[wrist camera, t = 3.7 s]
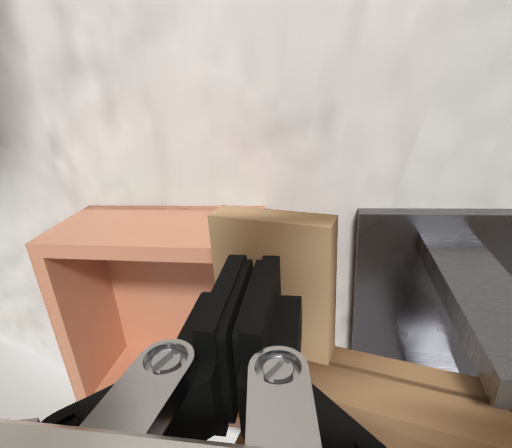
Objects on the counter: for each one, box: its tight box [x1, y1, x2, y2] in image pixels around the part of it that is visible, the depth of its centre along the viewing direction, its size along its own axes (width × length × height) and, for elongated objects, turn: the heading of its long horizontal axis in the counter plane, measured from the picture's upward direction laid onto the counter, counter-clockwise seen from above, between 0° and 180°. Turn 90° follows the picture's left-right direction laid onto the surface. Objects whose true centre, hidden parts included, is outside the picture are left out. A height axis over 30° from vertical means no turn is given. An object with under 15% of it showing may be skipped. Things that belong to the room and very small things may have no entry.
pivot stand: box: [351, 209, 512, 410], centre depth 15 cm, size 8×10×10 cm
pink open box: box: [25, 206, 265, 427], centre depth 20 cm, size 10×10×5 cm
